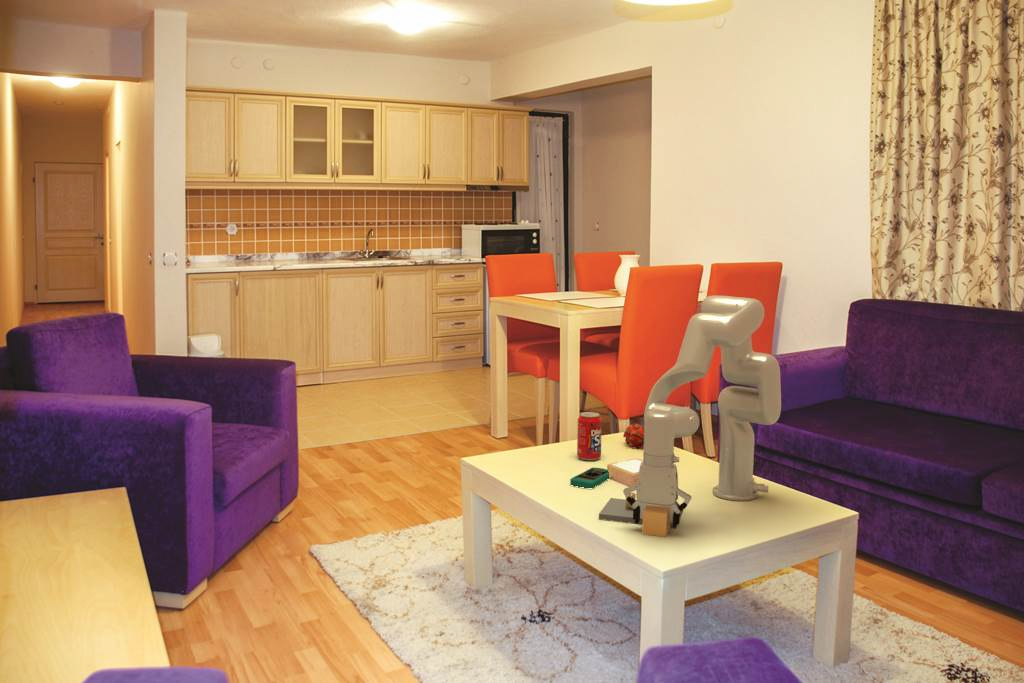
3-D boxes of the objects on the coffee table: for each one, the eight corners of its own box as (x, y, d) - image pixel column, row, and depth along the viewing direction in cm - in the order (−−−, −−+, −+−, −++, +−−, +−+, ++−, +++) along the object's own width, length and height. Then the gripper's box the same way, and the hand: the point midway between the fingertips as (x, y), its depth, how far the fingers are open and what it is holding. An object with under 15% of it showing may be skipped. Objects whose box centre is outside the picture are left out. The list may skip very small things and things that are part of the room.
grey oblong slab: (682, 511, 247) (682, 505, 247) (674, 528, 234) (674, 522, 234) (610, 503, 254) (610, 497, 253) (598, 519, 241) (598, 513, 240)
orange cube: (669, 529, 234) (670, 506, 233) (665, 536, 228) (666, 513, 227) (646, 526, 235) (647, 504, 235) (642, 534, 230) (642, 511, 229)
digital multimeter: (613, 478, 278) (613, 469, 278) (591, 491, 266) (591, 481, 265) (592, 474, 282) (592, 465, 282) (569, 487, 269) (569, 477, 269)
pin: (636, 507, 245) (636, 493, 245) (634, 510, 243) (634, 496, 242) (626, 506, 246) (627, 492, 246) (624, 509, 244) (625, 495, 243)
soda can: (575, 455, 302) (575, 411, 300) (598, 455, 303) (599, 411, 300) (579, 462, 294) (580, 417, 292) (603, 461, 295) (604, 416, 293)
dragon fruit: (629, 445, 321) (646, 459, 310) (613, 434, 317) (629, 447, 306) (643, 426, 321) (660, 439, 310) (627, 414, 317) (644, 427, 306)
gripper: (694, 459, 230) (692, 524, 232) (627, 452, 235) (625, 516, 238) (690, 466, 223) (688, 533, 225) (621, 459, 228) (619, 525, 231)
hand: (656, 524), depth 231 cm, fingers open, 9 cm apart
